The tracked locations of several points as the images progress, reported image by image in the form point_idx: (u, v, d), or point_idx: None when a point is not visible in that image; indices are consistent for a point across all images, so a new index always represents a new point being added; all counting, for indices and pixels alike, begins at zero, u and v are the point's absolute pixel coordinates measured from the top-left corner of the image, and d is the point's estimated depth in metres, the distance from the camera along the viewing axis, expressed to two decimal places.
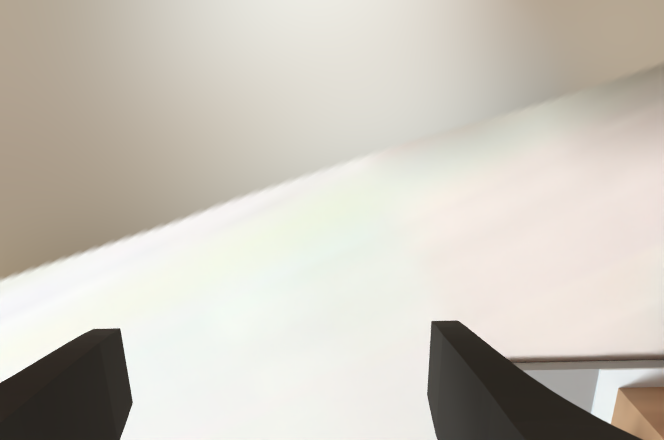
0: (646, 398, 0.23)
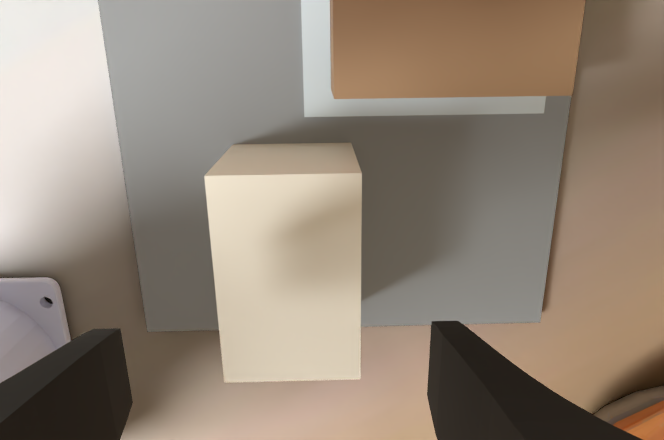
0: None
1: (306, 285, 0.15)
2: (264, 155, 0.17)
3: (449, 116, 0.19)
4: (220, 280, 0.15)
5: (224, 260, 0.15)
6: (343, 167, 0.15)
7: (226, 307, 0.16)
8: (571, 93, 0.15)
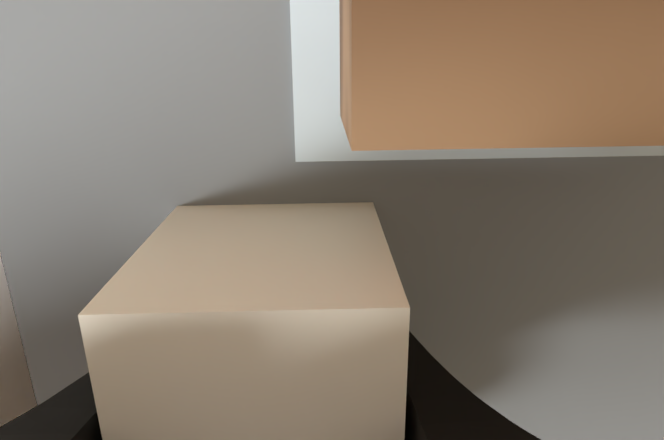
0: None
1: None
2: (222, 238, 0.09)
3: (537, 160, 0.11)
4: None
5: None
6: (368, 283, 0.08)
7: None
8: None
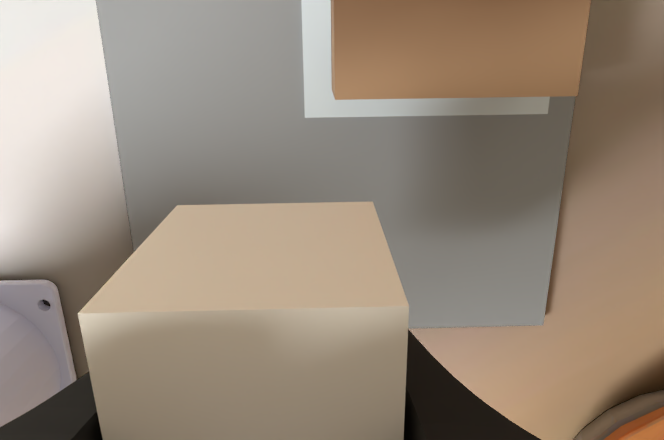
0: None
1: None
2: (222, 237, 0.10)
3: (451, 117, 0.19)
4: None
5: None
6: (368, 281, 0.08)
7: None
8: (576, 94, 0.14)
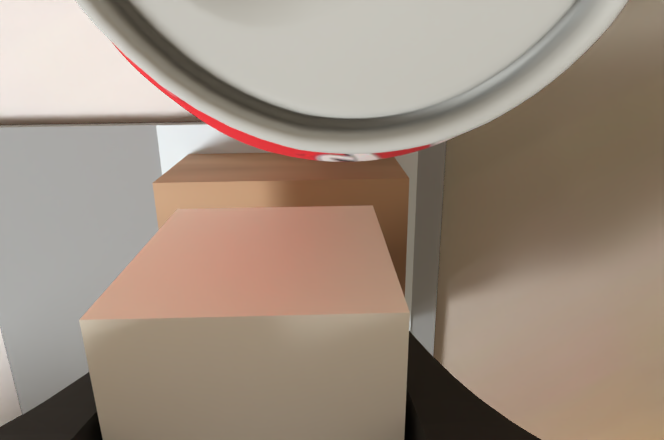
0: (208, 158, 0.17)
1: None
2: (222, 242, 0.10)
3: None
4: None
5: None
6: (368, 287, 0.08)
7: None
8: None
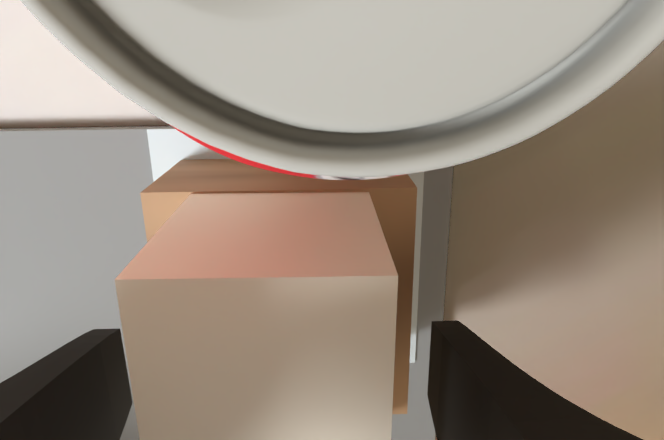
0: (202, 164, 0.16)
1: None
2: (233, 221, 0.11)
3: None
4: None
5: (156, 415, 0.09)
6: (362, 257, 0.09)
7: None
8: (406, 411, 0.15)
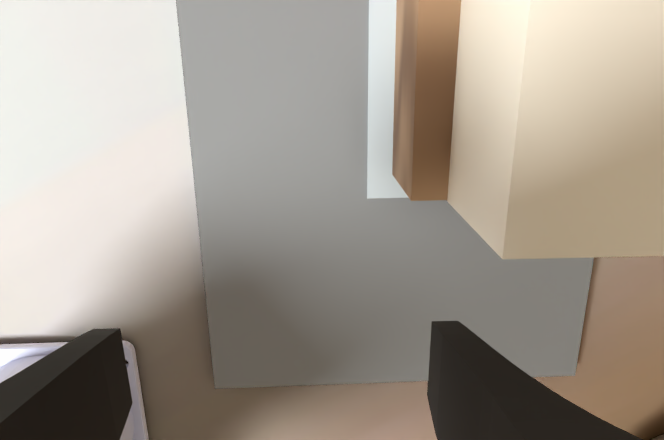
0: None
1: (646, 107, 0.11)
2: None
3: None
4: (528, 97, 0.11)
5: (540, 65, 0.10)
6: None
7: (528, 141, 0.11)
8: None
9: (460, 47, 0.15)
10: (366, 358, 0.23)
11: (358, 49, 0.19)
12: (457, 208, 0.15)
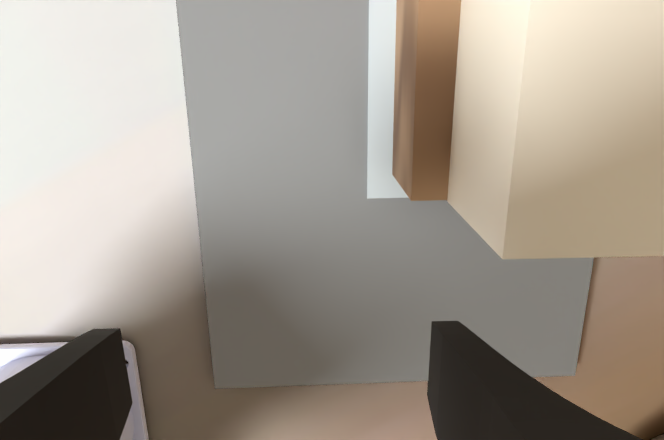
0: None
1: (646, 107, 0.11)
2: None
3: None
4: (528, 97, 0.11)
5: (540, 65, 0.10)
6: None
7: (528, 141, 0.11)
8: None
9: (460, 47, 0.15)
10: (366, 358, 0.23)
11: (358, 49, 0.19)
12: (457, 208, 0.15)
